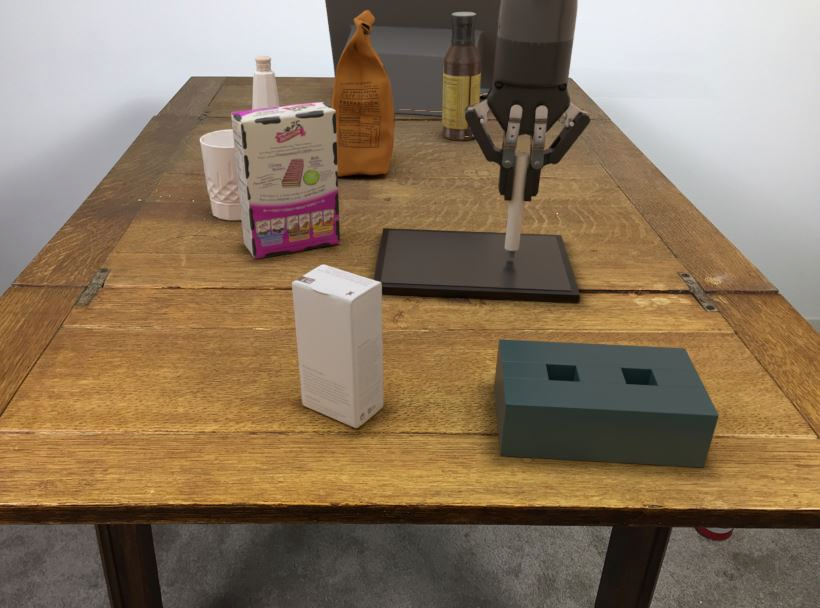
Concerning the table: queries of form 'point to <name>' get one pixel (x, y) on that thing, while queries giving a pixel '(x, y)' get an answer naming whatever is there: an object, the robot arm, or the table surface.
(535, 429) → the pen stand
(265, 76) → the salt shaker
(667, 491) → the table surface
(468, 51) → the sauce bottle
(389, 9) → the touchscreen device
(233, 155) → the white cup
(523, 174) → the stylus
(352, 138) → the coffee package
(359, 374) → the cosmetic box
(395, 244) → the tablet
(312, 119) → the candy bar box
